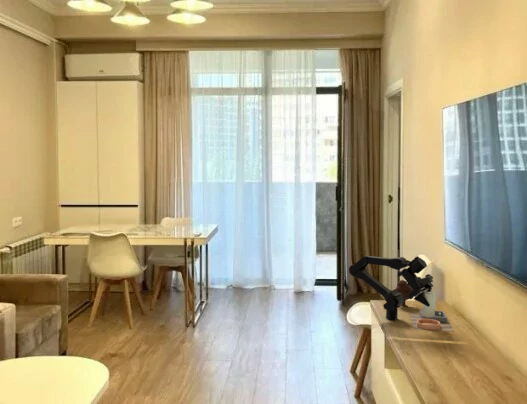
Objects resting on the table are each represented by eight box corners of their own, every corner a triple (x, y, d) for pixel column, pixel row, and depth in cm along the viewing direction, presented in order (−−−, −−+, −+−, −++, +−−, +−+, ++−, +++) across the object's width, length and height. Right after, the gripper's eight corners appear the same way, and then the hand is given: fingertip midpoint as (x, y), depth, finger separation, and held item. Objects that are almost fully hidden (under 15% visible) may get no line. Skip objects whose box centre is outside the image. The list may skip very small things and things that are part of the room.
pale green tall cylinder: (426, 313, 295) (427, 290, 294) (437, 315, 291) (438, 292, 290) (419, 315, 291) (421, 291, 290) (430, 318, 287) (431, 294, 286)
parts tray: (419, 314, 311) (419, 309, 311) (443, 316, 309) (443, 311, 309) (422, 321, 299) (422, 316, 299) (446, 322, 297) (447, 317, 297)
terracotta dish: (415, 321, 298) (415, 318, 297) (438, 323, 296) (438, 319, 296) (417, 328, 287) (418, 324, 287) (441, 330, 285) (441, 326, 285)
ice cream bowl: (393, 309, 324) (394, 282, 323) (393, 304, 335) (394, 277, 333) (413, 310, 322) (414, 283, 320) (413, 305, 333) (413, 278, 331)
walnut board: (408, 314, 314) (408, 312, 314) (445, 316, 311) (445, 314, 311) (413, 331, 286) (413, 329, 286) (454, 333, 283) (454, 331, 283)
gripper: (415, 272, 284) (436, 299, 278) (430, 266, 298) (450, 292, 293) (399, 285, 289) (419, 312, 284) (414, 279, 304) (434, 304, 298)
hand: (431, 304), depth 290 cm, fingers closed on pale green tall cylinder, 6 cm apart
